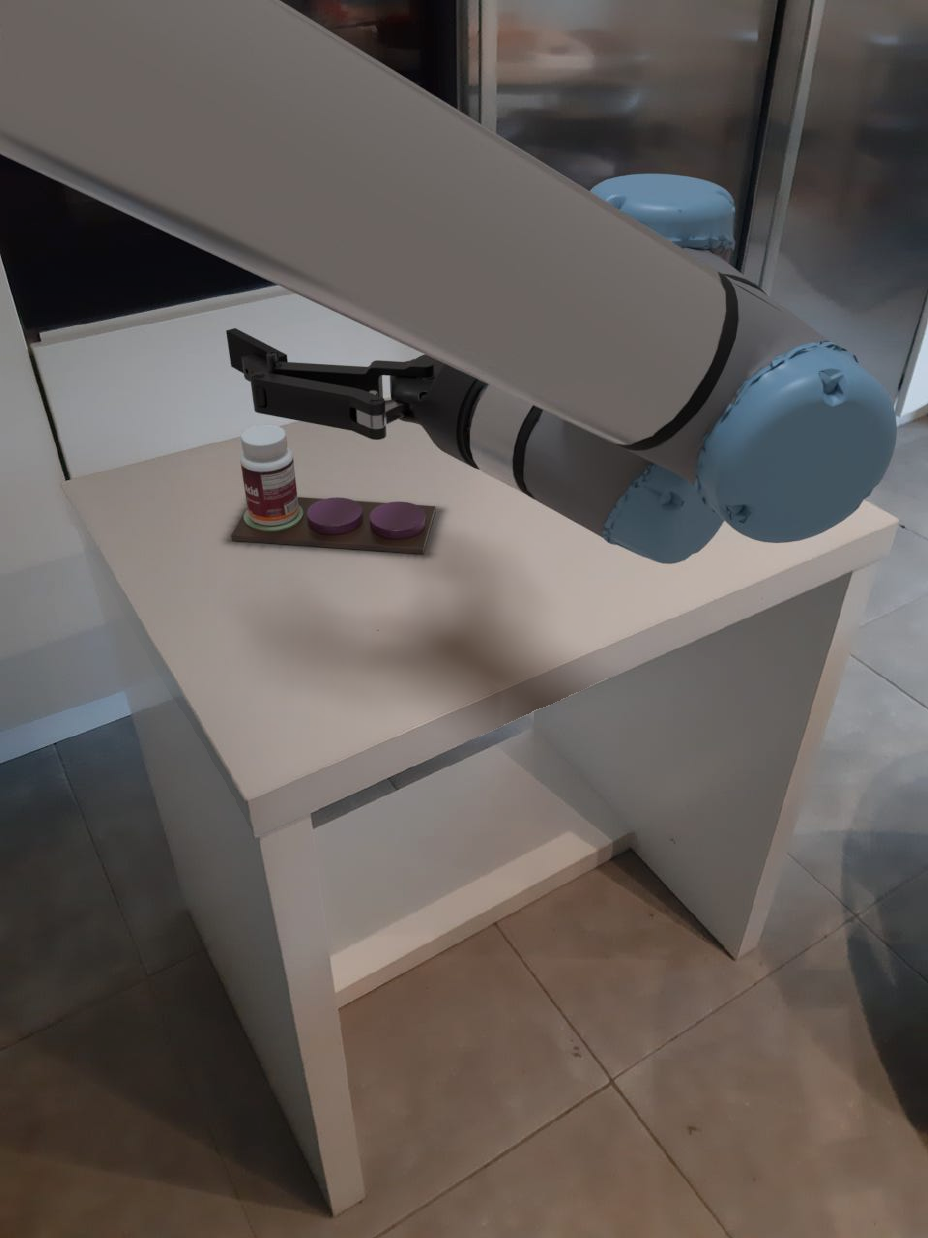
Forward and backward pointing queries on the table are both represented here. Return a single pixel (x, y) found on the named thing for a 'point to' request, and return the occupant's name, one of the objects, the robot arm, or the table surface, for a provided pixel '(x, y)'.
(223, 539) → the table surface
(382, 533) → the board
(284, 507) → the pill bottle
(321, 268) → the robot arm
